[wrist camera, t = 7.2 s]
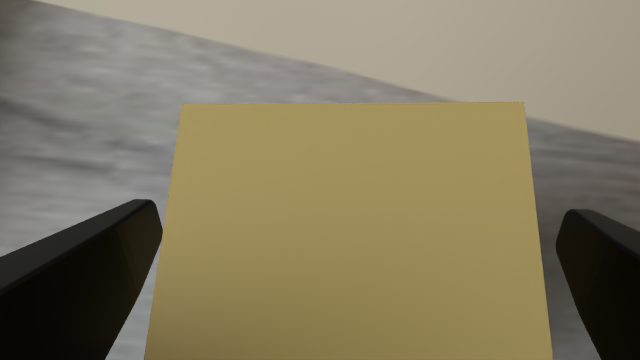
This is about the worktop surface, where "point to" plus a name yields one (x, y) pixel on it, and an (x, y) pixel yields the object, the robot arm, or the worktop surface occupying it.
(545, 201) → the worktop surface
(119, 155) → the worktop surface
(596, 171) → the worktop surface
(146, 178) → the worktop surface
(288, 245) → the mustard brick
